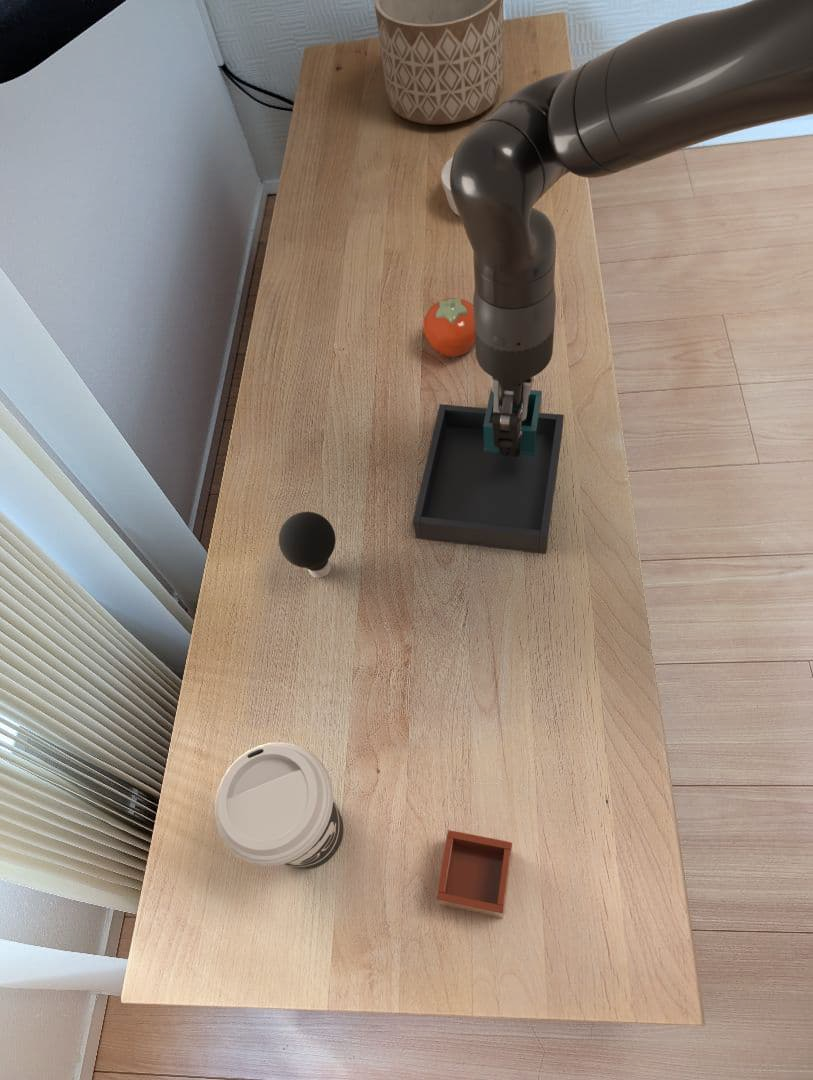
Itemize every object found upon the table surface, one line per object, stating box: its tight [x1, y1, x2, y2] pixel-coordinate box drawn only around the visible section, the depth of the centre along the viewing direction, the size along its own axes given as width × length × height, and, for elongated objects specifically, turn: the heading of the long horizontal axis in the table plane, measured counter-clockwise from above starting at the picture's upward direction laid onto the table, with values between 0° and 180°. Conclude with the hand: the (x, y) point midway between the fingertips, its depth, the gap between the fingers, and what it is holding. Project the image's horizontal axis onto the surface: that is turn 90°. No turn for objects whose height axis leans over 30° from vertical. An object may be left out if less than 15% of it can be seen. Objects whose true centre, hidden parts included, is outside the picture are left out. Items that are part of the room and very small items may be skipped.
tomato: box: [423, 297, 475, 358], centre depth 99 cm, size 7×7×8 cm
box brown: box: [435, 829, 513, 919], centre depth 68 cm, size 6×6×4 cm
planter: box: [373, 0, 505, 126], centre depth 123 cm, size 19×19×16 cm
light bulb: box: [278, 511, 336, 579], centre depth 83 cm, size 6×6×10 cm
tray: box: [412, 403, 565, 555], centre depth 89 cm, size 15×17×4 cm
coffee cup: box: [214, 741, 344, 870], centre depth 67 cm, size 10×10×15 cm
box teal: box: [483, 386, 543, 456], centre depth 86 cm, size 6×6×4 cm
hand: (513, 431), depth 87 cm, fingers closed on box teal, 5 cm apart
